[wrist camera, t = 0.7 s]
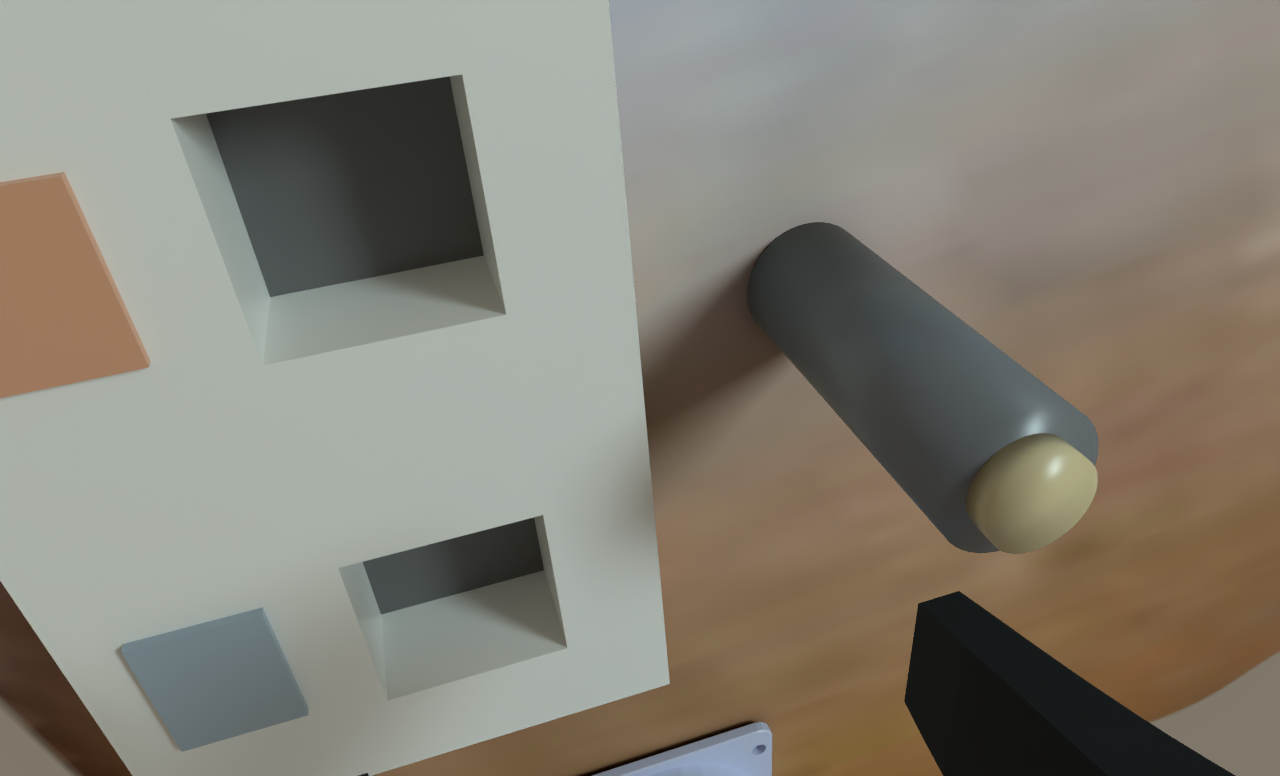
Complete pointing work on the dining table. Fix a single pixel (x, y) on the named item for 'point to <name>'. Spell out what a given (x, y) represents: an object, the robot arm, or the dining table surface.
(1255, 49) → the dining table surface
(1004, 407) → the plug
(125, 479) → the socket block
